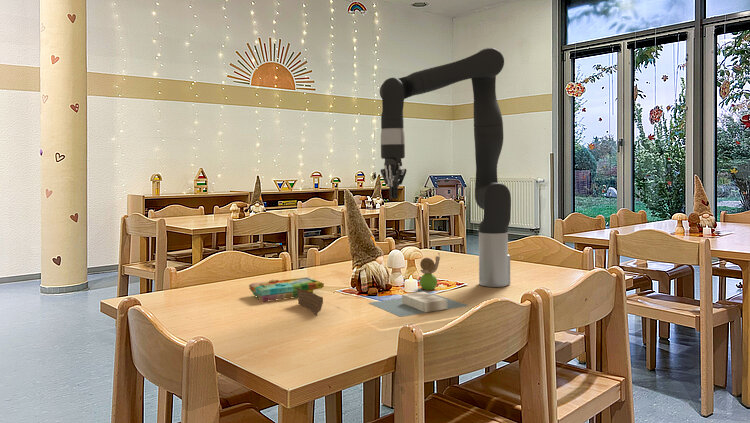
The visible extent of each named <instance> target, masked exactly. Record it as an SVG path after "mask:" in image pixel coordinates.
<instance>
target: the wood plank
mask: <svg viewBox="0 0 750 423" xmlns="http://www.w3.org/2000/svg"><path fill="white" fill-rule="evenodd" d="M296 289H297V291H298V297H297V298H298V299H297V302H298V303H297V305H298V304H300V305H299V306H301V305H302V306H301V307H303V306H304V307H303V308H305V307H306V308H305V309H307V308H308V310H310V311H312V313H313V314H314V316H315V317H316V316H317V317H318V313H319V312H321V310H322V307H323V304H324V298H323V297H322V296H319V295H317V294H316V293H314V292H313V293H312V292H308V291H305V290H302V289H298V288H296Z"/></svg>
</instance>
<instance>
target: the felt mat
mask: <svg viewBox="0 0 750 423" xmlns="http://www.w3.org/2000/svg"><path fill="white" fill-rule="evenodd" d="M431 294H432V295H435V296H438V297H441V298H444V299H447V309H443V310H442V311H444V310H445V311H446V310H451V309H457V308H464V307H469V306H470V305H468V304H466V303H463V302H459V301H458V300H457V301H456V300H453V299H450V298H448V297H444V296H441V295H438V294H435V293H431ZM368 304H369V305H371V306H374V307H377V308H378V309H381V310H383V311H386V312H387V313H390V314H393V315H395V316H397V317H399V318H401V317H409V316H415V315H420V314H421V315H422V314H427V313H429V312H423V311H421V310H418V309H415V308H413V307H410V306H408V305H405V304H403V303H402V297H400V298H394V299H387V300H379V301H372V302H368ZM440 311H441V310H437V311H436V312H440ZM432 312H435V311H431V312H430V313H432Z"/></svg>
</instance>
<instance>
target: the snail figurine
mask: <svg viewBox="0 0 750 423" xmlns="http://www.w3.org/2000/svg"><path fill="white" fill-rule="evenodd" d="M437 255H438V256H435V262H434V260H433V259H432V258H430V257H424V258H422V259H421V261H420V263H419V265H420V266H419V267H420V268H421V269H420V272H421V273H422V274H423V275H422V276H421V277H420V278H419V285H420V287H421V289H423V291H424V290H425V291H432V290H434V289H435V288H437V285H438V279H437V277H436V276H435V274H434V273H435V272H436V271H437V270H438V268H439V264H440V259H441V257H440V252H438V253H437Z"/></svg>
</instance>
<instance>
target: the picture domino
mask: <svg viewBox="0 0 750 423" xmlns="http://www.w3.org/2000/svg"><path fill="white" fill-rule="evenodd" d="M432 294H433V293H428V292H425V291H417V292H412V293H411V292H410V293H403V294H401V298H402V303H403V304H405V305H408V306H410V307H413V308H415V309H418V310H421V311H423V312H428V313H432V312H431V311H434V312H438V311H437V310H440V311H444V310H443V309H446V310H448V309H447V299H444V298H441V297H438V296H435V295H432Z"/></svg>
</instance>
